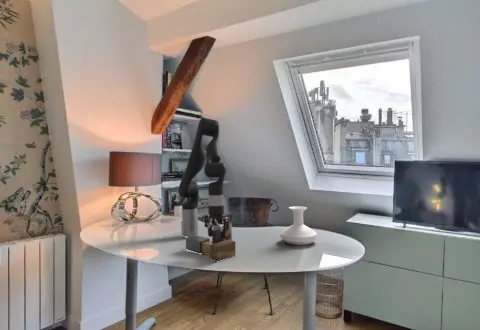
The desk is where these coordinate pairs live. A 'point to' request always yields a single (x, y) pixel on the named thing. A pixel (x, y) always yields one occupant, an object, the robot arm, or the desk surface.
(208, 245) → the tan and grey block
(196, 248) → the grey rectangular box
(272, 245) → the desk surface
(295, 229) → the white vase
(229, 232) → the coffee box
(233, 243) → the socket
